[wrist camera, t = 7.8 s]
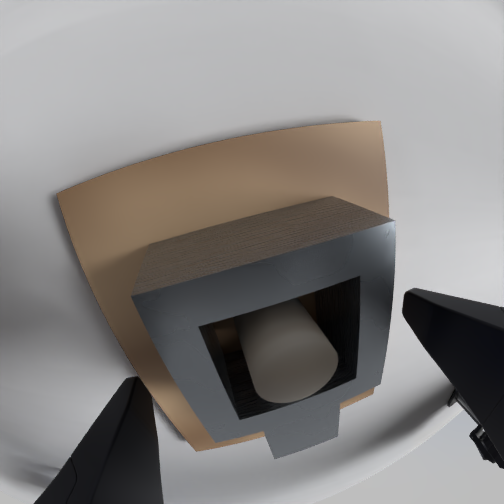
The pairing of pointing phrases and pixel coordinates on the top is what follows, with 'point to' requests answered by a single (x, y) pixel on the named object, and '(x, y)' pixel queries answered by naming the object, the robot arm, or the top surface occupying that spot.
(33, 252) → the top surface
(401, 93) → the top surface
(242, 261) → the link
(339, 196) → the board
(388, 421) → the top surface
